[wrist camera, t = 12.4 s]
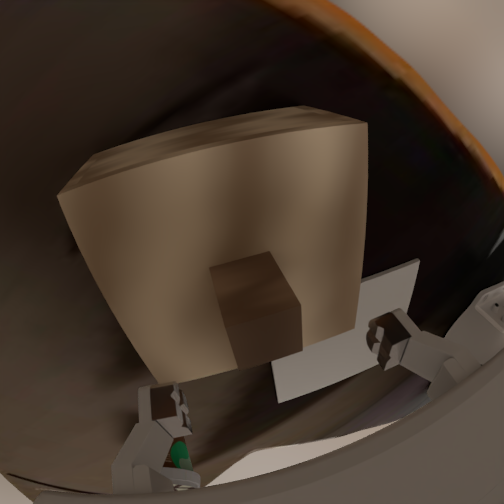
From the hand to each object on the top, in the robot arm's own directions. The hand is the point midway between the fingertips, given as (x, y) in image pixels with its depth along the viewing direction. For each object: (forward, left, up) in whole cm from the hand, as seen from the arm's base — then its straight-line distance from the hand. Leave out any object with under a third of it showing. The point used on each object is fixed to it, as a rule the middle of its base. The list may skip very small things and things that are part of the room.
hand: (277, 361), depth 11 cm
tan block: (0, 0, -12) cm, 12 cm away
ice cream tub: (+14, +29, -13) cm, 34 cm away
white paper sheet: (-11, +19, -12) cm, 25 cm away
